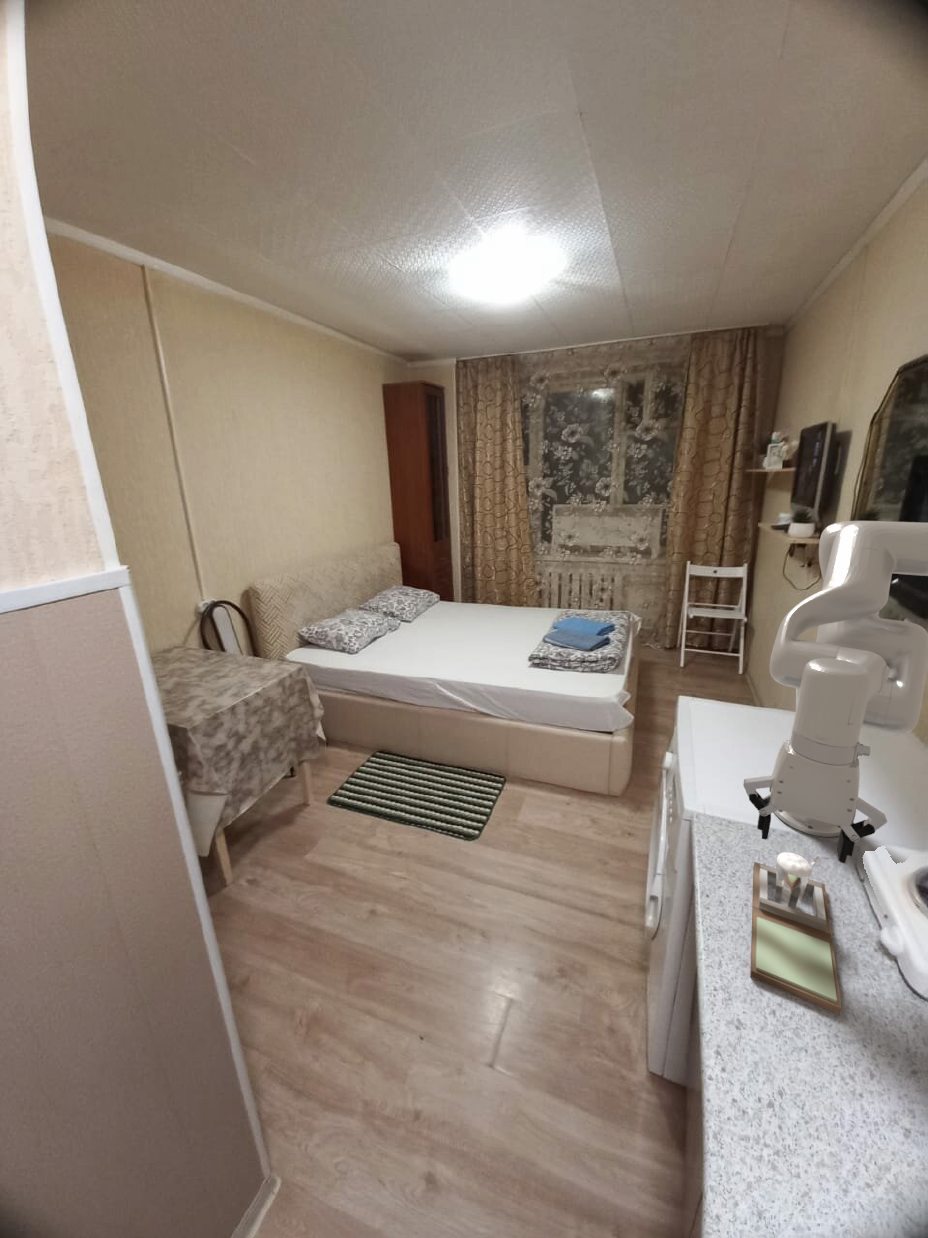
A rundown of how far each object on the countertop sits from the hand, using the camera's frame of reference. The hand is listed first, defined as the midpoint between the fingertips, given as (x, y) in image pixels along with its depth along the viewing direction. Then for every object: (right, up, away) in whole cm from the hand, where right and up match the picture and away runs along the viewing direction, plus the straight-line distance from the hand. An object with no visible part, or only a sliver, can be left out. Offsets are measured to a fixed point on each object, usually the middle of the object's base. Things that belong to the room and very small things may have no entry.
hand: (801, 845), depth 74 cm
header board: (-2, -13, 0) cm, 13 cm away
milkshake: (+1, -12, +4) cm, 13 cm away
